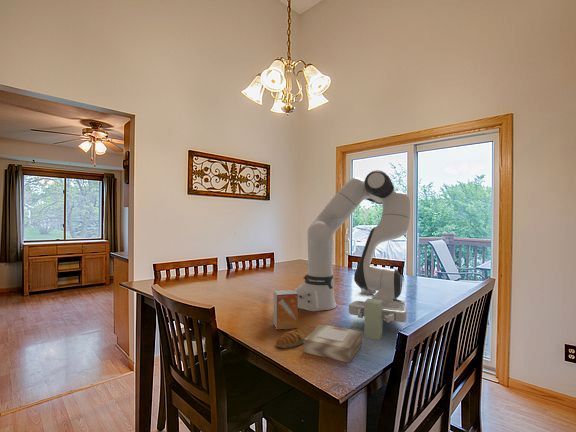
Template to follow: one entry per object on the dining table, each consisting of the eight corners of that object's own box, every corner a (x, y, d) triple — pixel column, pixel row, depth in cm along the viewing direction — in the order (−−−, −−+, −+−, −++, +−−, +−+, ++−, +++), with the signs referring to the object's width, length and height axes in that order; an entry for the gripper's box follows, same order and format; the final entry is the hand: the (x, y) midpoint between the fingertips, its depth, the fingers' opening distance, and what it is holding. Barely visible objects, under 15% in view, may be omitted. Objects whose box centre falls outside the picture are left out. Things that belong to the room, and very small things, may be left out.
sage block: (364, 337, 102) (364, 302, 102) (367, 332, 106) (367, 298, 106) (379, 340, 100) (379, 304, 100) (382, 334, 104) (382, 300, 104)
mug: (358, 291, 163) (358, 279, 163) (368, 290, 165) (368, 278, 165) (370, 296, 153) (370, 283, 153) (380, 295, 156) (380, 282, 156)
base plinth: (304, 352, 91) (304, 338, 91) (321, 335, 103) (321, 323, 103) (349, 362, 85) (349, 347, 85) (361, 343, 97) (361, 330, 97)
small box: (276, 330, 108) (276, 294, 108) (273, 324, 114) (273, 290, 114) (298, 328, 110) (298, 293, 110) (294, 322, 116) (293, 289, 116)
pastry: (285, 352, 92) (285, 339, 92) (271, 345, 96) (270, 334, 96) (306, 343, 98) (306, 331, 98) (291, 337, 103) (291, 326, 103)
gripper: (353, 295, 119) (343, 304, 107) (409, 301, 110) (404, 312, 98) (353, 311, 119) (343, 322, 107) (409, 319, 110) (404, 332, 98)
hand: (372, 317), depth 102 cm, fingers open, 8 cm apart
